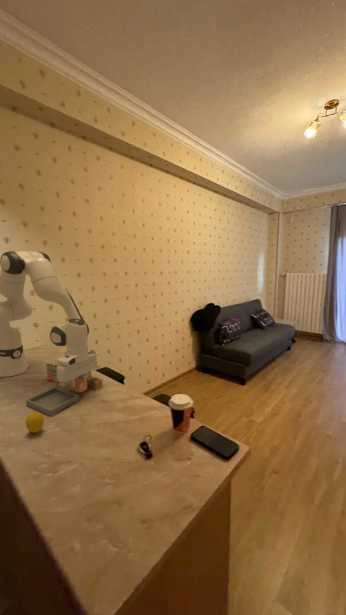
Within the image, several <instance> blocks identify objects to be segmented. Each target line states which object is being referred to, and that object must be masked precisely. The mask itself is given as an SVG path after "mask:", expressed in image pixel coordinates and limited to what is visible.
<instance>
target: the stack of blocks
mask: <svg viewBox="0 0 346 615" xmlns="http://www.w3.org/2000/svg"><path fill="white" fill-rule="evenodd" d="M58 365H59V363H57V359H52V360H51V361H49V362H48V363H46V366H45V367H46V376H47V381H49V382H55V383H60V382H59V381H58V380H57V366H58ZM82 377H83V375H80V376H78V377H76V378H80V379H81V378H82ZM76 378H75V379H76ZM90 378H92V370H91V371H89V372H88V375H87V378H86V381H87V380H88V379H90Z"/></svg>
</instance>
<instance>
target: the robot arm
mask: <svg viewBox="0 0 346 615" xmlns="http://www.w3.org/2000/svg"><path fill="white" fill-rule="evenodd" d="M0 268H1V270H0V295H1V296H2V297H4V298H6V299H5V300H4V301H0V378H1V377H2V378H5V377H13V376H17V375H20V374H23V373H25V372H27V370H28V368H29V367H30V363H28V360H27V355H26V353H25V352H24V346H23V342H22V333H21V331H20V329H17V328H15V327H12V326H11V325H10V322H13V321H14V322H15V321H19V320H24V319H26V318H29V317H30V316H31V314H32V313H33V306H32V304H31V303H30V301H29V300H26V298H25V295H24V289H25V283H26V279H27V275H28V277H29V278H30V281H31V285H32V287H33V290H34V292H35V294H36V296H38V297H39V299H41V300H44V301H47V302H51V303H55V304H57V305H59V306H61V307H62V308H63V309H64V312H65V314H66V316H67V318H68V320H67V321H66V322H64V323H61V324H58V325H55V326H52V327H51V329H50V332H49V340H50V341H51V343H52V344H53V345H55V346H56V347H66V352H64V353H63V354H62V355H61V356H59V357H58V358H57V359H56V360H57V363H59V365H58V366H57V380H58V381H59V382H58V383H61V382H62V383H65V382H67V381H70V382H71V383H72V387H76V386H77V382H74V380H75V378H76V377H78V376H80V375H83V377H82V378H81V379H82V380H85V381H86V378H87V375H88V372H89V371H91V372H92V371H93V370H96V369H97V368H98V360H97V355H96V354H97V353H96V350H94V349H91V350H89V346H88V339H89V334H90V333H89V332H90V327H89V325H88V323H87V322H86V320H85V319H84V318H83V317H82V316H83V315H81V313H80V310H79V308H78V306H77V304H76V302H75V301H74V299H73V297H72V295H71V294H70V292H69V291H68V290H66V289H65V287H63V285H62V283H60V281H59V278H58V276H57V273H56V271H55V268H54V267H53V265H52V262H51V258H50V257H49V255H48V254H46V253H45V252H42V251H33V250H32V251H31V250H18V251H15V250H11V251H10V250H9V251H5V252H3V253H2V254H1V257H0Z"/></svg>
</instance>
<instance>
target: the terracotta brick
mask: <svg viewBox="0 0 346 615" xmlns="http://www.w3.org/2000/svg"><path fill="white" fill-rule="evenodd" d="M74 382H77V386H76V387H72V383H71V382H70V383H71V389H72V390H71V391H74V392H77V393H79V394H80V393H82V392H84V391H87V389H88V387H87V381H85V380H82V379H80V378H76V379H75V380H74Z"/></svg>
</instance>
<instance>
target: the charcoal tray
mask: <svg viewBox="0 0 346 615" xmlns="http://www.w3.org/2000/svg"><path fill="white" fill-rule="evenodd" d="M78 402H80V395H79V394H76V393H72V392H70V391H69V392H68V391H65V390H62V389H59V388H58V386H57V387H56V386H54V387H51V388H50V389H48V390H46V391H43V392H41V393H39V394H37V395H34V396H31V397H30V398H28V399H26V400H25V404H26V407H29V408H31V409H34V410H35V411H36V412H39V413H41V414H44V415H47V416H49V417H50V418H51V417H53V416H56V415H57V414H58V413H60V412H62V411H64V410H65V409H68V408H70V407H71V406H73V405H75V404H77V403H78Z"/></svg>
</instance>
